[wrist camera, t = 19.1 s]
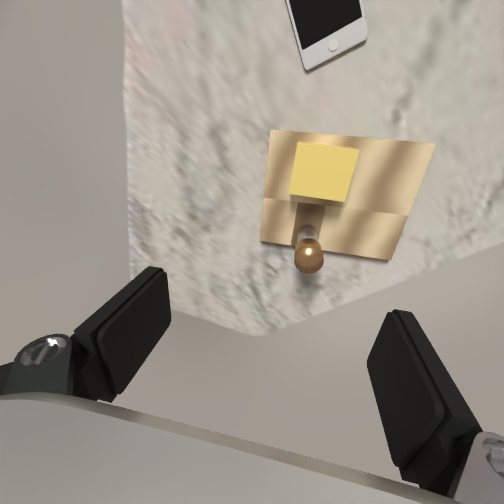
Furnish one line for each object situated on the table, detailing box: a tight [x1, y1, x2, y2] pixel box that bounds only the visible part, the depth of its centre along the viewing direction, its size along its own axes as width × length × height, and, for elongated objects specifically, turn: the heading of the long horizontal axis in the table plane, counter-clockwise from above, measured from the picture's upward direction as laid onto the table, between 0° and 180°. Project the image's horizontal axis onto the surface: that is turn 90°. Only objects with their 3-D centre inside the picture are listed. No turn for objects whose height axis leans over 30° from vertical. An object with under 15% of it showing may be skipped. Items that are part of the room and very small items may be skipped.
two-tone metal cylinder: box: [294, 224, 324, 273], centre depth 33 cm, size 3×3×9 cm
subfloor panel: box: [260, 130, 436, 260], centre depth 34 cm, size 20×16×1 cm
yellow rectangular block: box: [289, 141, 360, 202], centre depth 31 cm, size 7×6×4 cm
